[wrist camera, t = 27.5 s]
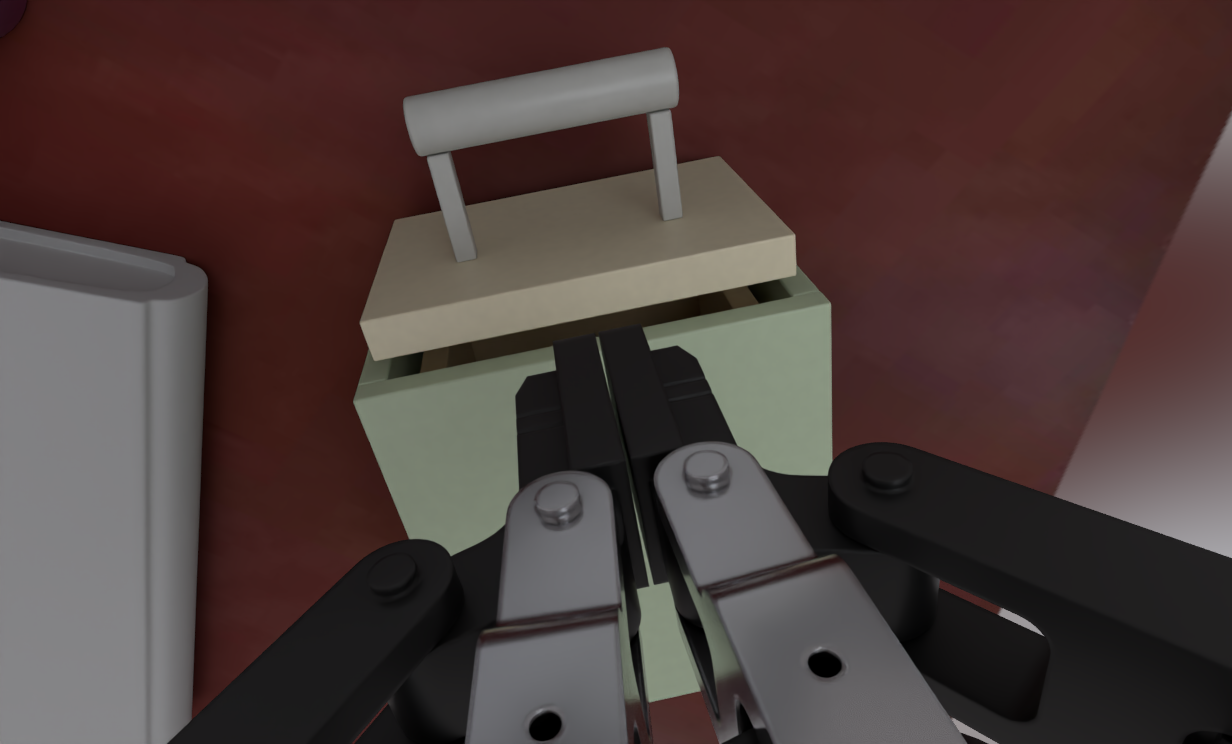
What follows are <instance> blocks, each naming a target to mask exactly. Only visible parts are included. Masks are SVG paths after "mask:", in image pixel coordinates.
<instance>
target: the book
mask: <svg viewBox="0 0 1232 744" xmlns="http://www.w3.org/2000/svg"><path fill="white" fill-rule="evenodd" d="M207 299H208V278H207V276H206V274H205V272H204V271H203V270H202V269H201V268H199V267H197V266H195V265H192V264H188V263H186V259H185V258H183V257H180V256H175V255H171V254H166V253H161V252H156V251H151V250H146V249H141V248H136V247H131V246H125V245H120V244H115V243H110V242H105V241H100V240H95V239H90V238H85V237H80V236H74V235H69V234H64V233H59V232H54V231H49V230H44V229H39V228H34V227H29V226H23V225H18V224H13V223H8V222H3V221H0V744H167V743H168V742H169V741H170V740H171V739H172V738H173V737H174V736H175V735H176V734H178V733H179V732H180V731H181V730H182V729H183V728H184V727H185V726H186V725H187V724H188V723H189V722H190V721H191V720H192V696H193V670H194V643H195V617H196V590H197V564H198V537H199V511H200V484H201V458H202V431H203V405H204V378H205V352H206V325H207Z"/></svg>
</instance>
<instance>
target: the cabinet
mask: <svg viewBox="0 0 1232 744" xmlns="http://www.w3.org/2000/svg"><path fill="white" fill-rule="evenodd" d="M796 272H797V274H796V276H792V277H787V278H782V279H777V280H772V281H767V282H762V283H757V284H752V285H747V287H748V288H749V290H750V291H751V293H752V294H753V296H754V297H755V299H756V300H757V301H758V303H759V304H756V305H751V306H746V307H741V308H736V309H731V310H727V311H722V312H717V313H712V314H707V315H702V316H697V317H692V318H687V319H683V320H678V321H673V322H668V323H663V324H658V325H653V326H648V327H643V331H644V334H645V336H646V339H647V342H648V345H649V347H650V350H651V351H652V350H657V349H661V348H666V347H671V346H676V345H678V346H679V347H681V348H682V349H684V350H685V351H687V352H688V353H690V354H691V355H693V356H694V357H696V358H697V360H698V362H699V364H700V366H701V368H702V370H703V373H704V375H705V379H707V381H708V383H709V386H710V388H711V390H712V394H714V396H715V398H716V401H717V403H718V405H719V407H720V409H721V411H722V413H723V416H724V418H725V420H726V422H727V424H728V426H729V429H730V431H731V433H732V435H733V437H734V439H735V441H736V444H737V446H739V447H742V448H743V449H745V450H747V451H748V452H750V453H751V454H752V455H753V456H754V457H755V458H756V460H757V461H758V462H759V464H760V466H761V467H762V468H764V469H767V470H770V471H773V472H777V473H782V474H788V475H816V476H828V470H829V467H830V465H831V463H832V368H831V303H830V302H829V301H828V299H827V298H826V297H825V296H824V295H823V294H822V293H821V292H819V290H818V289H817V287H816V286H815V285H814V284H813V283H812V282H811V281H810V280H809V278H808V277H807V276H806V275H805V274H804V273H803V272H802V270H801V269H800V268H799V267H798V266H797V265H796ZM596 340H597V345H598V349H599V353H600V357H601V361H602V365H603V369H604V373H605V378H606V382H607V377H606V372H605V366H604V361H603V356H602V351H601V345H600V340H599V337H596ZM423 352H424V351H423ZM423 352H418V353H414V354H409V355H404V356H399V357H394V358H389V359H384V360H379V361H374V360H373V357H372V355H371V352H370V349H369V350H368V354H367V357H366V360H365V364H364V367H363V370H362V374H361V377H360V380H359V384H358V387H357V390H356V393H355V397H354V400H353V403H354V405H355V408H356V410H357V413H358V415H359V418H360V420H361V422H362V425H363V427H364V430H365V432H366V435H367V437H368V439H369V442H370V444H371V447H372V449H373V452H374V454H375V457H376V459H377V461H378V464H379V466H380V469H381V471H382V474H383V476H384V479H385V481H386V483H387V486H388V488H389V491H390V493H391V496H392V498H393V500H394V503H395V505H396V508H397V510H398V513H399V515H400V518H401V520H402V522H403V525H404V527H405V530H406V532H407V535H408V537H409V539H426V540H430V541H434V542H436V543H438V544H440V545H442V546H443V547H444V548H445V549H446V550H447V551H448V552H449V554H450V556H452V555H454V554H456V553H459V552H461V551H463V550H465V549H467V548H469V547H471V546H474V545H476V544H478V543H480V542H482V541H483V540H485V539H487V538H488V537H490V536H491V535H493V534H494V533H496V532H497V531H498V530H499V529H500V528H502V527H503V526H504V525H505V522H506V513H507V508H508V506H509V504H510V501H511V500H512V499H513V497H514V496H515V495H516V494H517V492H518V491H519V478H518V454H517V429H516V419H517V418H516V404H515V395H516V393H517V392H518V390H519V389H520V387H521V385H522V384H523V382H524V380H525V379H526V377H527V376H531V375H536V374H541V373H545V372H550V371H555V370H556V365H555V358H554V351H553V346H551V347H546V348H541V349H536V350H531V351H526V352H521V353H516V354H512V355H507V356H502V357H497V358H492V359H487V360H482V361H477V362H473V363H468V364H463V365H458V366H453V367H448V368H443V369H438V370H433V371H429V372H424V373H420V370H421V364H422V358H423ZM607 386H608V382H607ZM608 390H609V387H608ZM609 394H610V392H609ZM632 497H633V496H632ZM633 502H634V500H633ZM634 508H635V504H634ZM635 513H636V508H635ZM636 518H637V524H638V529H639V534H640V539H641V545H642V550H643V555H644V561H645V566H646V571H647V576H648V582H649V587H645V588H640V589H637V593H638V598H639V603H640V608H641V623H640V626H639V627H640V632H641V637H642V644H643V653H644V662H645V671H646V680H647V689H648V698H649V702H653V701H657V700H662V699H666V698H671V697H675V696H680V695H684V694H689V693H693V692H698V691H701V690H700V687H699V685H698V682H697V679H696V676H695V673H694V671H693V668H692V665H691V662H690V660H689V657H688V654H687V651H686V648H685V646H684V643H683V640H682V637H681V635H680V632H679V628H678V624H677V618H676V612H675V606H674V600H673V596H672V592H671V589H670V585H669V582H667V583H662V584H657V585H654V583H653V579H652V575H651V571H650V567H649V563H648V558H647V554H646V550H645V546H644V542H643V538H642V533H641V529H640V525H639V521H638V517H637V513H636Z"/></svg>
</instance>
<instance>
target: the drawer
mask: <svg viewBox="0 0 1232 744" xmlns="http://www.w3.org/2000/svg"><path fill="white" fill-rule="evenodd" d="M678 100H679V84H678V76H677V70H676V65H675V61H674V57H673V55H672V52H671V50H670V49H669V48H666V47H665V48H659V49H654V50H649V51H644V52H639V53H633V54H628V55H623V56H618V57H612V58H607V59H602V60H597V61H592V62H586V63H581V64H576V65H571V66H565V67H560V68H555V69H550V70H545V71H539V72H534V73H529V74H524V75H518V76H513V77H508V78H503V79H498V80H492V81H487V82H482V83H477V84H471V85H466V86H461V87H456V88H451V89H445V90H440V91H435V92H430V93H424V94H419V95H414V96H409V97H406V98H404V101H403V110H404V116H405V121H406V125H407V129H408V133H409V136H410V139H411V142H412V145H413V147H414V149H415V151H416V153H417V154H418V155H419V156H427V155H428V156H427V161H428V165H429V168H430V172H431V175H432V179H433V182H434V186H435V189H436V193H437V196H438V199H439V203H440V206H441V210H442V211H438V212H433V213H428V214H423V215H417V216H412V217H407V218H402V219H397V220H395V221H394V223H393V226H392V229H391V232H390V235H389V238H388V241H387V244H386V247H385V250H384V252H383V255H382V258H381V261H380V264H379V267H378V270H377V273H376V276H375V279H374V282H373V285H372V287H371V290H370V293H369V296H368V299H367V302H366V305H365V308H364V311H363V314H362V317H361V320H360V326H361V328H362V331H363V334H364V336H365V339H366V342H367V344H368V347H369V349H370V352H371V355H372V357H373V360H374V361H379V360H384V359H389V358H394V357H399V356H404V355H409V354H414V353H418V352H423V351H424V352H423V358H422V364H421V370H420V373H424V372H429V371H433V370H438V369H443V368H448V367H453V366H458V365H463V364H468V363H473V362H477V361H482V360H487V359H492V358H497V357H502V356H507V355H512V354H516V353H521V352H526V351H531V350H536V349H541V348H546V347H551V346H553V343H552V341H556V340H561V339H566V338H571V337H576V336H581V335H586V334H591V333H595V336H596V337H599V334H598V332H600V331H605V330H610V329H614V328H619V327H624V326H629V325H634V324H639V323H640V324H641V326H642V328H643V327H648V326H653V325H658V324H663V323H668V322H673V321H678V320H683V319H687V318H692V317H697V316H702V315H707V314H712V313H717V312H722V311H727V310H731V309H736V308H741V307H746V306H751V305H756V304H759V303H758V301H757V300H756V299H755V297H754V296H753V294H752V293H751V291H750V290H749V288H748V287H747V285H752V284H757V283H762V282H767V281H772V280H777V279H782V278H787V277H792V276H796V274H797V272H796V242H795V234H794V233H793V232H792V231H791V230H790V229H789V228H788V227H787V226H786V225H785V224H784V223H783V222H782V220H781V219H780V218H779V217H778V216H777V215H776V214H775V213H774V212H773V211H772V210H771V209H770V208H769V207H768V206H767V205H766V204H765V203H764V202H763V201H762V200H761V199H760V198H759V197H758V196H757V194H756V193H755V192H754V191H753V190H752V189H751V188H750V187H749V186H748V185H747V184H746V183H745V182H744V181H743V180H742V179H741V178H740V177H739V176H738V175H737V174H736V173H735V172H734V171H733V170H732V169H731V167H730V166H729V165H728V164H727V163H726V162H725V161H724V160H723V159H722V158H721V157H720V156H717V157H712V158H706V159H701V160H696V161H691V162H686V163H681V164H677V160H676V151H675V142H674V133H673V125H672V116H671V111H670V110H669V109H668V108H673V107H675V106H677V104H678ZM642 113H646V115H647V122H648V130H649V137H650V145H651V153H652V160H653V168H654V169H651V170H646V171H641V172H635V173H630V174H625V175H620V176H615V177H610V178H605V179H600V180H595V181H590V182H585V183H580V184H575V185H570V186H565V187H559V188H554V189H549V190H544V191H539V192H534V193H529V194H524V195H519V196H514V197H509V198H504V199H499V200H494V201H488V202H483V203H478V204H473V205H468V206H465V203H464V199H463V196H462V192H461V188H460V184H459V181H458V177H457V173H456V170H455V166H454V162H453V159H452V155H451V151H452V150H457V149H463V148H468V147H473V146H478V145H483V144H488V143H493V142H498V141H504V140H509V139H514V138H519V137H524V136H529V135H534V134H540V133H545V132H550V131H555V130H560V129H565V128H570V127H576V126H581V125H586V124H591V123H596V122H601V121H606V120H612V119H617V118H622V117H627V116H632V115H637V114H642Z"/></svg>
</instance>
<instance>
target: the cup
mask: <svg viewBox="0 0 1232 744" xmlns="http://www.w3.org/2000/svg"><path fill="white" fill-rule="evenodd" d="M26 2H27V0H0V37H3V36H4V35H5V34H7V33H8V32H10V31H11V30H13V28H14V27H15V26H16V25H17V24H18V22H19V21H20V20H21V17H22V15H23V13H24V11H25V8H26Z"/></svg>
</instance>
